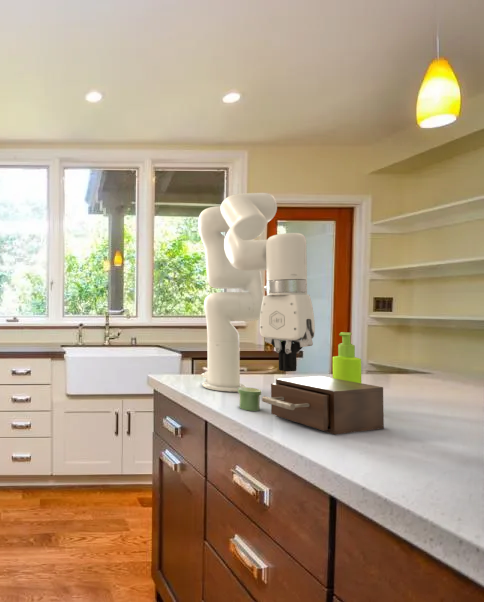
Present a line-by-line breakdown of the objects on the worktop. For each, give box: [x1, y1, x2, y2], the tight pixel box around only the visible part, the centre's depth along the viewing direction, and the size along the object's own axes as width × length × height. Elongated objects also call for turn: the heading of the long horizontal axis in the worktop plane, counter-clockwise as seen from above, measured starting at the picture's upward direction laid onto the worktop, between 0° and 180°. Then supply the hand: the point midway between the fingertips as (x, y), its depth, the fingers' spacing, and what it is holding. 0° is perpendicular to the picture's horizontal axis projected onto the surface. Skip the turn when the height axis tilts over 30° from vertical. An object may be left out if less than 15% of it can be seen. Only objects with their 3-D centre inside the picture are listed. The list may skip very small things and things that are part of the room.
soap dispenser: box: [331, 331, 362, 383], centre depth 98 cm, size 6×7×20 cm
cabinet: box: [275, 375, 385, 436], centre depth 86 cm, size 15×14×9 cm
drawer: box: [261, 383, 331, 431], centre depth 84 cm, size 19×12×7 cm, turn 105°
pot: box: [237, 386, 262, 412], centre depth 97 cm, size 5×5×5 cm
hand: (287, 370), depth 82 cm, fingers closed
